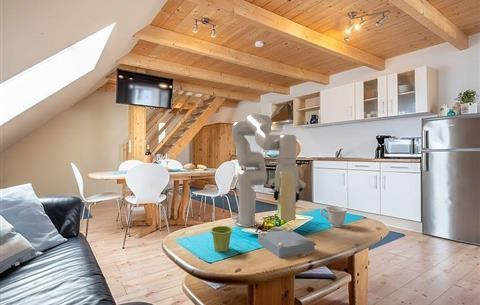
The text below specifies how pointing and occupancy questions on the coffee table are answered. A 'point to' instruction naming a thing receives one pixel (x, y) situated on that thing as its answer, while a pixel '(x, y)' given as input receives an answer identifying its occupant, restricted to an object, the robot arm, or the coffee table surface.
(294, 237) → the base block
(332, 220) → the teacup
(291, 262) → the coffee table surface
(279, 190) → the cream tall block
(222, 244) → the plant pot
